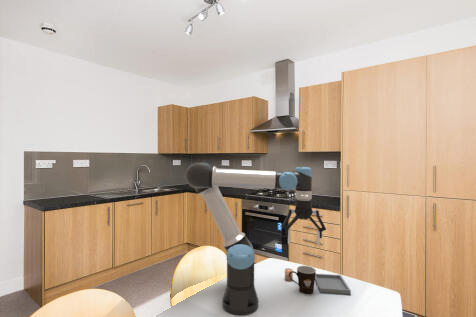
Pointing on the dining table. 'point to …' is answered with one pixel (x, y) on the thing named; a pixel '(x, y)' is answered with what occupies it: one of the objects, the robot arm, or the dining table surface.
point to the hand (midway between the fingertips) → (303, 244)
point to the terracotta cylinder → (288, 274)
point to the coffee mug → (305, 279)
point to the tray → (331, 284)
